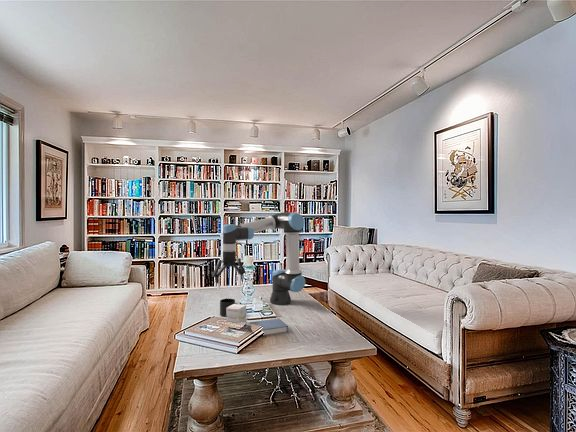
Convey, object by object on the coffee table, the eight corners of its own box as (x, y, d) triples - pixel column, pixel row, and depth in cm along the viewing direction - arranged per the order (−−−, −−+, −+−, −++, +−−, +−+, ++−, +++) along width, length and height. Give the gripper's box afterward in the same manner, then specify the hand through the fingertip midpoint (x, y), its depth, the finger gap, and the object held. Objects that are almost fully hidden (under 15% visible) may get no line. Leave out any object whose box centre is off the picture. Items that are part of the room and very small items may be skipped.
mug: (239, 316, 200) (239, 302, 200) (219, 317, 198) (219, 303, 198) (238, 311, 209) (238, 297, 209) (220, 312, 207) (220, 298, 207)
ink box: (246, 324, 186) (246, 304, 185) (239, 330, 178) (239, 309, 177) (233, 323, 188) (233, 303, 188) (226, 328, 180) (226, 307, 180)
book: (279, 324, 187) (279, 318, 187) (287, 332, 175) (287, 325, 175) (249, 328, 180) (249, 322, 180) (256, 337, 168) (256, 330, 168)
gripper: (245, 248, 197) (244, 283, 198) (206, 251, 182) (206, 288, 183) (251, 250, 191) (250, 285, 192) (211, 252, 176) (211, 291, 177)
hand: (229, 287), depth 187 cm, fingers open, 13 cm apart
